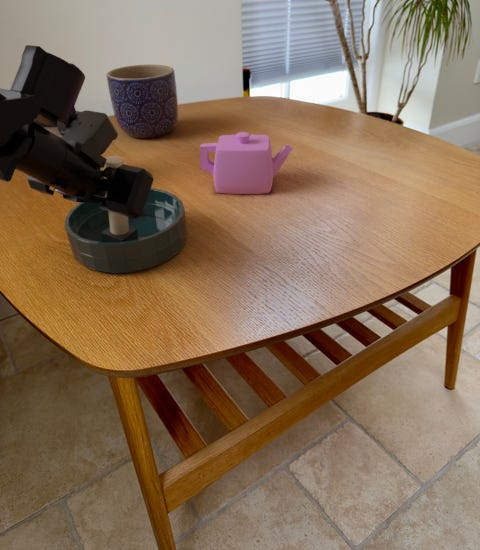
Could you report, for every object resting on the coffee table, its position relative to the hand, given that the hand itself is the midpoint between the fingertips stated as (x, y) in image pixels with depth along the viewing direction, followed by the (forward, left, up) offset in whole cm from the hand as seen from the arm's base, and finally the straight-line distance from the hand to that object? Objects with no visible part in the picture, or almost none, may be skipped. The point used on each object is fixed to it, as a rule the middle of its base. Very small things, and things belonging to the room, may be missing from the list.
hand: (125, 201), depth 66 cm
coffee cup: (-10, +30, -8) cm, 32 cm away
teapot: (+24, +16, -8) cm, 30 cm away
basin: (0, 0, -8) cm, 8 cm away
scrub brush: (-2, -1, -7) cm, 7 cm away
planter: (+9, +55, -8) cm, 56 cm away
